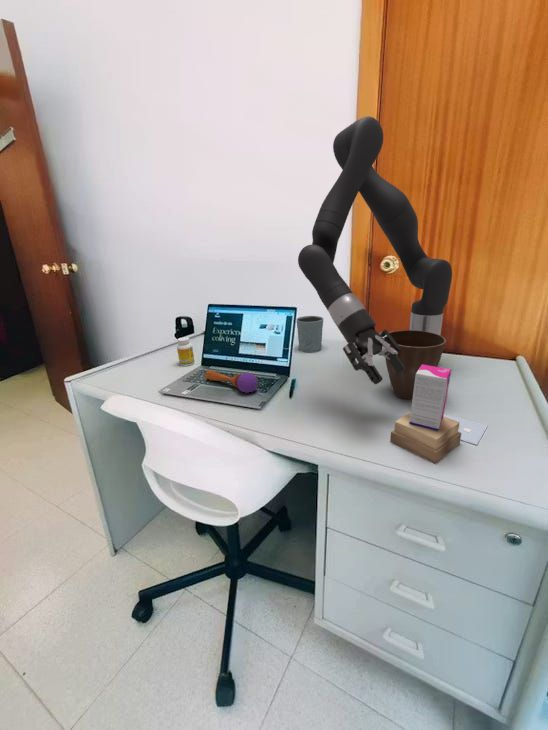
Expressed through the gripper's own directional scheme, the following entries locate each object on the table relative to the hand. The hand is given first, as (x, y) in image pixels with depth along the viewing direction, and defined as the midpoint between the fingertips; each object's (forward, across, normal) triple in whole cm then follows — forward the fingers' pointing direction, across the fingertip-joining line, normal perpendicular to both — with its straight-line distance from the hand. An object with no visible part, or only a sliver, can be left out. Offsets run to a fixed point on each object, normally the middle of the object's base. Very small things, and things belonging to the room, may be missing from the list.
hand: (390, 376), depth 76 cm
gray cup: (-28, +26, +46) cm, 60 cm away
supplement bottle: (-43, -15, +61) cm, 77 cm away
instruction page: (+16, +10, +1) cm, 19 cm away
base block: (+15, 0, +2) cm, 15 cm away
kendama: (-23, -14, +41) cm, 49 cm away
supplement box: (+12, 0, -1) cm, 12 cm away
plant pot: (+5, +18, +13) cm, 23 cm away
